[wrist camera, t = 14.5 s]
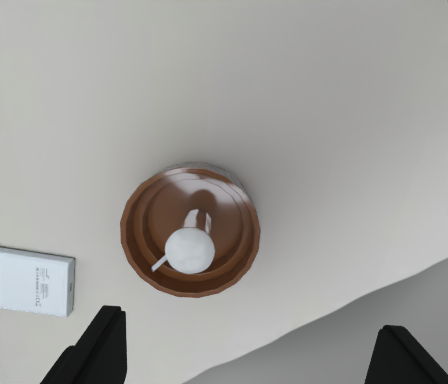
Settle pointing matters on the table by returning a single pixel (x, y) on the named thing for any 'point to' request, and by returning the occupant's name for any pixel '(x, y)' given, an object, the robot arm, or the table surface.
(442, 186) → the table surface
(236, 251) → the bowl
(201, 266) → the milkshake
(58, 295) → the hard drive
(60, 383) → the robot arm
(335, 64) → the table surface
